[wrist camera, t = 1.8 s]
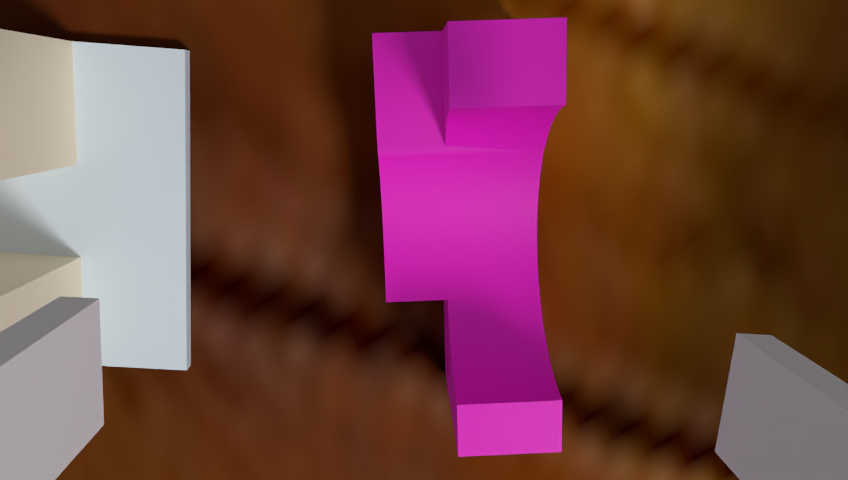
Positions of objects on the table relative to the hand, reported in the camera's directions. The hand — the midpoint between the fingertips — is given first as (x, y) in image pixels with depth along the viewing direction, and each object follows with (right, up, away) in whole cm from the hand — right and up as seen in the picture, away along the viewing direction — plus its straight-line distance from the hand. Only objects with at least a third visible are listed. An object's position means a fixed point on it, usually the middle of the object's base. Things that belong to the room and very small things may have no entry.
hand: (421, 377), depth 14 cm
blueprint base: (-17, +4, +15) cm, 23 cm away
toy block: (+1, +4, +16) cm, 17 cm away
